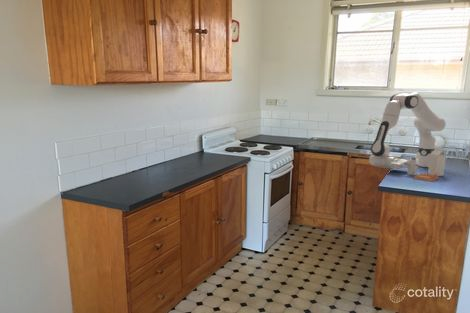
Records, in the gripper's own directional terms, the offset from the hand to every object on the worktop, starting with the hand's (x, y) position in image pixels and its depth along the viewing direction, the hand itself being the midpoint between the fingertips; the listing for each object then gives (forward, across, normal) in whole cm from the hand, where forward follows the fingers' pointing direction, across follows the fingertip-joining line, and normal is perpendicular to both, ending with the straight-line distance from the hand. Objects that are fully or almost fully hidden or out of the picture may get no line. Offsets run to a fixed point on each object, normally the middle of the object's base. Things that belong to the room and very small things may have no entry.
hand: (411, 165), depth 274 cm
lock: (+1, 0, +6) cm, 6 cm away
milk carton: (+14, +10, +6) cm, 18 cm away
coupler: (+12, -6, +6) cm, 15 cm away
